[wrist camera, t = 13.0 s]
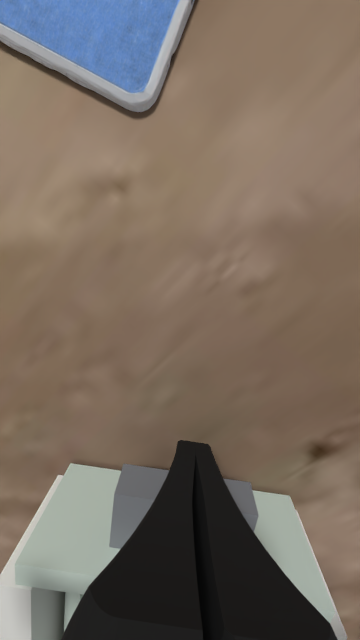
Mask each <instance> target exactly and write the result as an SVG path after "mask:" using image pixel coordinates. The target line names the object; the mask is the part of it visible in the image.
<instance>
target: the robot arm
mask: <svg viewBox="0 0 360 640" xmlns="http://www.w3.org/2000/svg"><path fill="white" fill-rule="evenodd" d="M61 640H338V639H337V637H336V635H335V633H334V631H333V628H332V626H331V624H330V623H329V622H328V621H327V620H326V619H325V618H324V616H323V615H322V614H321V613H320V612H319V611H318V610H317V609H316V608H315V607H314V606H313V605H312V604H311V603H310V602H309V601H308V600H307V598H306V597H305V596H304V595H303V594H302V593H301V592H300V591H299V590H298V589H297V588H296V586H295V585H294V584H293V583H292V582H291V581H290V579H289V578H288V577H287V576H286V575H285V573H284V572H283V571H282V570H281V568H280V567H279V566H278V564H277V563H276V562H275V561H274V559H273V558H272V557H271V555H270V554H269V553H268V552H267V550H266V549H265V548H264V546H263V545H262V543H261V542H260V540H259V539H258V538H257V536H256V535H255V533H254V532H253V530H252V529H251V527H250V526H249V524H248V523H247V521H246V519H245V518H244V516H243V515H242V513H241V511H240V510H239V508H238V506H237V504H236V502H235V501H234V499H233V497H232V495H231V493H230V491H229V489H228V487H227V485H226V483H225V481H224V479H223V477H222V475H221V473H220V471H219V468H218V466H217V464H216V461H215V459H214V456H213V454H212V451H211V448H210V446H209V445H208V444H204V443H197V442H190V441H184V440H180V441H178V443H177V449H176V454H175V457H174V460H173V463H172V465H171V468H170V470H169V472H168V475H167V477H166V479H165V481H164V483H163V485H162V487H161V489H160V491H159V493H158V495H157V497H156V498H155V500H154V502H153V503H152V505H151V507H150V508H149V510H148V512H147V513H146V515H145V516H144V518H143V519H142V521H141V522H140V524H139V525H138V527H137V528H136V530H135V531H134V532H133V534H132V535H131V536H130V538H129V539H128V540H127V542H126V543H125V544H124V545H123V547H122V548H121V549H120V551H119V552H118V553H117V554H116V556H115V557H114V558H113V559H112V560H111V562H110V563H109V564H108V565H107V566H106V567H105V568H104V570H103V571H102V572H101V573H100V574H99V575H98V576H97V577H96V578H95V579H94V581H93V582H92V583H91V584H90V585H89V586H88V588H87V590H86V592H85V593H84V595H83V597H82V599H81V600H80V602H79V604H78V606H77V608H76V609H75V611H74V613H73V615H72V617H71V619H70V621H69V623H68V625H67V627H66V629H65V632H64V634H63V637H62V639H61Z"/></svg>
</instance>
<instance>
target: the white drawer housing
mask: <svg viewBox="0 0 360 640" xmlns="http://www.w3.org/2000/svg"><path fill="white" fill-rule="evenodd" d="M62 478H63V475H58V476H57V478H56V480H55V481H54V483H53V485H52V487H51V488H50V490H49V492H48V493H47V495H46V497H45V499H44V500H43V502H42V504H41V506H40V507H39V509H38V511H37V512H36V514H35V516H34V518H33V519H32V521H31V523H30V524H29V526H28V528H27V530H26V531H25V533H24V535H23V537H22V538H21V540H20V542H19V543H18V545H17V547H16V549H15V550H14V552H13V554H12V555H11V557H10V559H9V561H8V562H7V564H6V566H5V567H4V569H3V571H2V573H1V574H0V640H61V639H62V637H63V634H64V615H65V592H62V591H55V590H49V589H42V588H35V587H29V586H22V585H16V584H15V563H16V561H17V559H18V557H19V555H20V554H21V552H22V550H23V548H24V546H25V545H26V543H27V541H28V539H29V537H30V536H31V534H32V532H33V530H34V528H35V527H36V525H37V523H38V521H39V519H40V518H41V516H42V514H43V512H44V510H45V509H46V507H47V505H48V503H49V501H50V500H51V498H52V496H53V494H54V492H55V491H56V489H57V487H58V485H59V483H60V482H61V480H62ZM295 511H296V513H297V516H298V518H299V521H300V523H301V526H302V528H303V531H304V533H305V536H306V538H307V541H308V543H309V546H310V549H311V551H312V554H313V556H314V559H315V561H316V564H317V566H318V569H319V571H320V574H321V576H322V579H323V581H324V584H325V587H326V589H327V592H328V594H329V597H330V599H331V602H332V604H333V607H334V609H335V614H334V616H333V618H332V620H331V623H330V624H331V626H332V628H333V631H334V633H335V635H336V637H337V639H338V640H346V639H347V635H346V632H345V630H344V627H343V625H342V622H341V620H340V617H339V615H338V612H337V610H336V607H335V605H334V602H333V600H332V597H331V595H330V592H329V590H328V587H327V585H326V582H325V580H324V577H323V575H322V572H321V570H320V567H319V565H318V562H317V560H316V557H315V555H314V552H313V550H312V547H311V545H310V542H309V540H308V537H307V535H306V532H305V530H304V527H303V525H302V522H301V520H300V517H299V515H298V512H297V510H295Z"/></svg>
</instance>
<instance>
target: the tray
mask: <svg viewBox="0 0 360 640" xmlns="http://www.w3.org/2000/svg"><path fill="white" fill-rule="evenodd" d="M168 472H169V470H163V469H156V468H149V467H142V466H136V465H129V464H123V467H122V470H121V471H119V470H113V469H106V468H99V467H92V466H86V465H79V464H72V463H71V464H70V465H69V467H68V469H67V471H66V473H65V474H64V476H63V478H62V480H61V482H60V483H59V485H58V487H57V489H56V491H55V492H54V494H53V496H52V498H51V500H50V501H49V503H48V505H47V507H46V509H45V510H44V512H43V514H42V516H41V518H40V519H39V521H38V523H37V525H36V527H35V528H34V530H33V532H32V534H31V536H30V537H29V539H28V541H27V543H26V545H25V546H24V548H23V550H22V552H21V554H20V555H19V557H18V559H17V561H16V563H15V584H16V585H22V586H29V587H35V588H42V589H49V590H55V591H62V592H65V615H64V632H65V629H66V627H67V625H68V623H69V621H70V619H71V617H72V615H73V613H74V611H75V609H76V608H77V606H78V604H79V602H80V600H81V599H82V597H83V595H84V593H85V592H86V590H87V588H88V586H89V585H90V584H91V583H92V582H93V581H94V579H95V578H96V577H97V576H98V575H99V574H100V573H101V572H102V571H103V570H104V568H105V567H106V566H107V565H108V564H109V563H110V562H111V560H112V559H113V558H114V557H115V556H116V554H117V553H118V552H119V551H120V549H121V548H122V547H123V545H124V544H125V543H126V542H127V540H128V539H129V538H130V536H131V535H132V534H133V532H134V531H135V530H136V528H137V527H138V525H139V524H140V522H141V521H142V519H143V518H144V516H145V515H146V513H147V512H148V510H149V508H150V507H151V505H152V503H153V502H154V500H155V498H156V497H157V495H158V493H159V491H160V489H161V487H162V485H163V483H164V481H165V479H166V477H167V475H168ZM224 481H225V483H226V485H227V487H228V489H229V491H230V493H231V495H232V497H233V499H234V501H235V502H236V504H237V506H238V508H239V510H240V511H241V513H242V515H243V516H244V518H245V519H246V521H247V523H248V524H249V526H250V527H251V529H252V530H253V532H254V533H255V535H256V536H257V538H258V539H259V540H260V542H261V543H262V545H263V546H264V548H265V549H266V550H267V552H268V553H269V554H270V555H271V557H272V558H273V559H274V561H275V562H276V563H277V564H278V566H279V567H280V568H281V570H282V571H283V572H284V573H285V575H286V576H287V577H288V578H289V579H290V581H291V582H292V583H293V584H294V585H295V586H296V588H297V589H298V590H299V591H300V592H301V593H302V594H303V595H304V596H305V597H306V598H307V600H308V601H309V602H310V603H311V604H312V605H313V606H314V607H315V608H316V609H317V610H318V611H319V612H320V613H321V614H322V615H323V616H324V618H325V619H326V620H327V621H328V622H329V623H331V620H332V618H333V616H334V614H335V609H334V607H333V604H332V602H331V599H330V597H329V594H328V592H327V589H326V587H325V584H324V581H323V579H322V576H321V574H320V571H319V569H318V566H317V564H316V561H315V559H314V556H313V554H312V551H311V549H310V546H309V543H308V541H307V538H306V536H305V533H304V531H303V528H302V526H301V523H300V521H299V518H298V516H297V513H296V511H295V508H294V505H293V503H292V500H291V498H290V496H288V495H281V494H274V493H268V492H261V491H254V490H252V487H251V483H250V482H243V481H237V480H230V479H224Z"/></svg>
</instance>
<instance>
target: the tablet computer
mask: <svg viewBox="0 0 360 640" xmlns="http://www.w3.org/2000/svg"><path fill="white" fill-rule="evenodd" d="M194 1H195V0H0V41H1V42H3V43H4V44H6V45H7V46H9V47H11V48H12V49H14V50H16V51H18V52H20V53H23V54H25V55H27V56H29V57H31V58H32V59H33V60H35V61H37V62H39V63H41V64H43V65H44V66H46V67H48V68H50V69H53V70H56V71H58V72H60V73H62V74H63V75H65V76H67V77H68V78H69V79H71V80H72V81H74V82H76V83H78V84H80V85H81V86H83V87H85V88H88V89H91V90H93V91H95V92H97V93H98V94H100V95H102V96H104V97H106V98H107V99H109V100H111V101H113V102H115V103H116V104H118V105H120V106H122V107H124V108H125V109H128V110H130V111H134V112H143V111H146V110H148V109H149V108H150V107H151V106H152V105H153V104H154V103H155V101H156V100H157V98H158V96H159V94H160V91H161V88H162V86H163V83H164V81H165V78H166V75H167V72H168V69H169V67H170V61H171V57H172V55H173V53H174V52H175V50H176V49H177V46H178V44H179V41H180V38H181V36H182V33H183V30H184V28H185V25H186V23H187V20H188V18H189V15H190V12H191V10H192V7H193V3H194Z"/></svg>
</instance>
